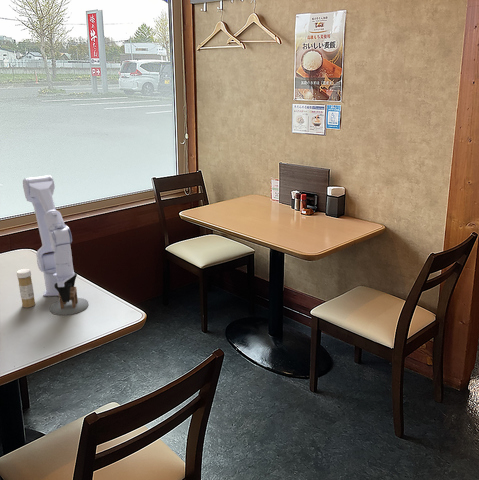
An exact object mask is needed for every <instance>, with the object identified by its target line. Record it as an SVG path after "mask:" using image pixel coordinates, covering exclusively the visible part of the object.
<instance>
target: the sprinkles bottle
mask: <svg viewBox="0 0 479 480" xmlns="http://www.w3.org/2000/svg"><path fill="white" fill-rule="evenodd" d="M16 276H17V281H18V286H19V287H18V288H19V293H20V298H21V306H22V307H23V308H32V307H34V306H35V305H36V300H35V293H34V287H33V286H34V285H33V282H32V271H31V269H29V268H21V269H18V270H17V271H16Z"/></svg>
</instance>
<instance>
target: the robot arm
mask: <svg viewBox="0 0 479 480" xmlns="http://www.w3.org/2000/svg"><path fill="white" fill-rule="evenodd" d="M55 187H56V186H55V181H54V178H53V177H52V176H51V174H47V175H43V176H42V175H41V176H35V177H34V176H33V177H24V178H23V179H22V188H23V193H24V196H25V199H26V201H27V202H30V203H31V204H32V206H33V210H34V213H35V217H36V223H37V227H38V231H39V232H38V233H39V237H40V240H41V247H40V248H39V249H37V251H36V254H35V256H36V262H37V267H38V269H39V271H40V272H41V273H43V277H44V284H45V285H44V286H45V291H44V293H42V294H43V295H42V296H43V297H51V296H52V297H53V296H59V294H60V296H61V299H62V301H63V302H69V301H70V289H71V287H75V283H76V279H77V276H78V273H76V272H75V270H74V265H73V256H72V254H73V253H72V249H71V247H72V246H71V244H72V242H73V236H72V232H71V229H70V227H69V226H68V225H67V224H65V220H64V218H63V216H62V213H61V211H59V210H57V209H56V207H55V202H54V199H53V195H54V191H55Z"/></svg>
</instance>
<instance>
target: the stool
mask: <svg viewBox="0 0 479 480" xmlns="http://www.w3.org/2000/svg"><path fill="white" fill-rule="evenodd" d="M77 289H78V288H77V286H74V287H71V289H70V300H72V307H73V308H75V307H76V305H75V303H78V298H79V297H78V291H77ZM58 297H59V300H60V306H61V309H64V304H66V303H67V302H63V301H62V299H61V296H60V294H59V295H58Z"/></svg>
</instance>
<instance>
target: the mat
mask: <svg viewBox="0 0 479 480" xmlns="http://www.w3.org/2000/svg"><path fill="white" fill-rule="evenodd" d="M77 298H78V303H75V305H76V307H75V308H73V307H72V300H70V301H69V302H67V303H66V304H64V309H61V306H60V299H59V300H57V301H55V302H53V303H52V304H51V305H50V307H49V310H50V312H51V314H53V315H57V316H70V315H75V314H78V313H81V312H83V311H85V310H86V309H88V307H89V301H88V299H86V298H82V297H77Z"/></svg>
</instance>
